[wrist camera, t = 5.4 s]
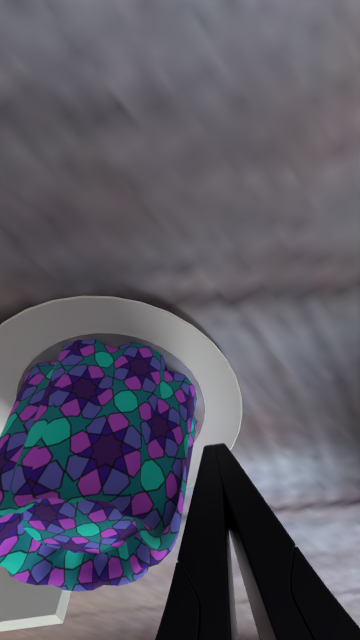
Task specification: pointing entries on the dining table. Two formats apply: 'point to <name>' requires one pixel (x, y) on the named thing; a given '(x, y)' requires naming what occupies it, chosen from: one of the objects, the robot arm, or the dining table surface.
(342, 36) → the dining table surface
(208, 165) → the dining table surface
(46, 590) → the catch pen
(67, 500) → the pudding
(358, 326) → the dining table surface
